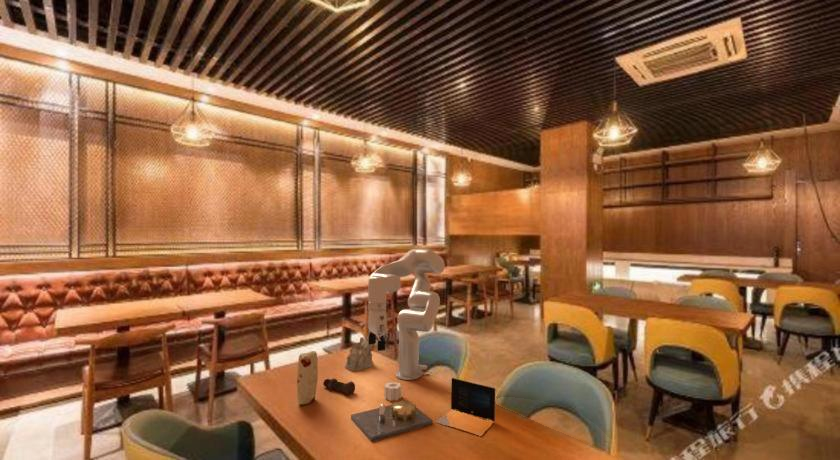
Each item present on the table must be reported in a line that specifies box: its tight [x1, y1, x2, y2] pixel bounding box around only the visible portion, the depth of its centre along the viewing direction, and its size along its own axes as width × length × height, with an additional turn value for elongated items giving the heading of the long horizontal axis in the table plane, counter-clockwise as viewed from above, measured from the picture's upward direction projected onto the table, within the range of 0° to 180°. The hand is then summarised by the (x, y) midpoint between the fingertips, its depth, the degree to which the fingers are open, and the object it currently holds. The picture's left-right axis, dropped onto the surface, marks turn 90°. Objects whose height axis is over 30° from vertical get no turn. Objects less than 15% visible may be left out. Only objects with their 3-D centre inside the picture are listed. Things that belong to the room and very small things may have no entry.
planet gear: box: [383, 381, 402, 402], centre depth 164 cm, size 7×7×5 cm
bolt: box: [322, 377, 356, 397], centre depth 170 cm, size 6×5×15 cm
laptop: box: [435, 377, 496, 437], centre depth 144 cm, size 18×12×13 cm
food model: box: [296, 350, 319, 405], centre depth 158 cm, size 10×7×20 cm
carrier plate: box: [350, 400, 433, 443], centre depth 143 cm, size 24×18×7 cm
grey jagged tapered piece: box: [344, 335, 374, 371], centre depth 203 cm, size 16×16×15 cm
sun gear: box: [391, 400, 417, 420], centre depth 146 cm, size 9×9×3 cm
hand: (376, 346), depth 164 cm, fingers open, 9 cm apart
